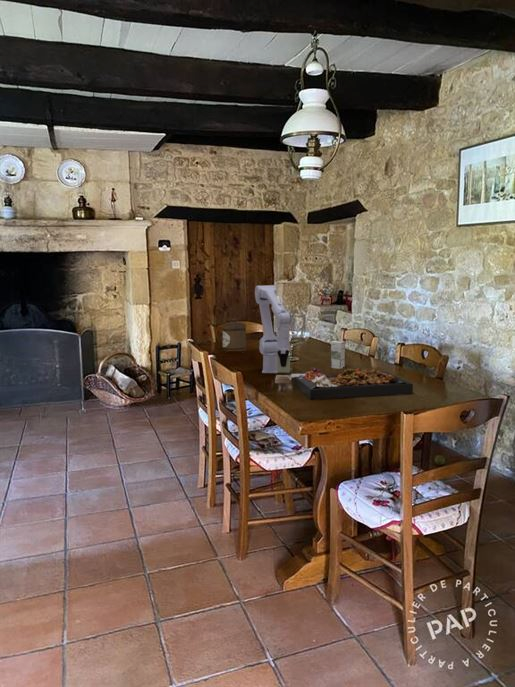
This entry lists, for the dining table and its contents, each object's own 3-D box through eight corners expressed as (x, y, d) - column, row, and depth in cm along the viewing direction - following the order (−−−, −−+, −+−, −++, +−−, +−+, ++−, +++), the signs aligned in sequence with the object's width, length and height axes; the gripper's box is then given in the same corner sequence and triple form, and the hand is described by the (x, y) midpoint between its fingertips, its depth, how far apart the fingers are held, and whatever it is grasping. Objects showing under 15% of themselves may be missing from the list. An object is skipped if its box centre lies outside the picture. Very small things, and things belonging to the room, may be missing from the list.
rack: (275, 377, 242) (275, 374, 242) (291, 378, 241) (291, 374, 241) (275, 380, 237) (275, 377, 237) (291, 380, 236) (291, 377, 236)
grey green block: (277, 371, 240) (277, 355, 239) (289, 371, 239) (289, 355, 238) (277, 372, 238) (277, 355, 237) (289, 372, 237) (289, 355, 236)
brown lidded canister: (221, 351, 319) (220, 317, 315) (244, 350, 321) (244, 316, 318) (224, 355, 304) (223, 319, 301) (248, 354, 307) (247, 319, 303)
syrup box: (344, 367, 265) (345, 340, 263) (340, 369, 260) (341, 342, 258) (334, 366, 268) (335, 339, 266) (330, 368, 263) (330, 341, 260)
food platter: (310, 400, 203) (310, 375, 201) (294, 386, 227) (294, 364, 225) (412, 394, 211) (413, 370, 210) (386, 381, 235) (387, 359, 234)
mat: (291, 374, 249) (291, 373, 249) (306, 374, 248) (306, 373, 248) (291, 377, 242) (291, 377, 241) (307, 378, 241) (307, 377, 241)
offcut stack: (275, 382, 233) (275, 375, 233) (290, 382, 233) (290, 375, 232) (274, 383, 231) (274, 376, 230) (290, 383, 230) (290, 376, 230)
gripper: (275, 335, 244) (275, 363, 246) (274, 340, 229) (274, 369, 231) (290, 335, 243) (289, 363, 245) (289, 340, 229) (289, 369, 231)
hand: (283, 366), depth 238 cm, fingers closed on grey green block, 2 cm apart
